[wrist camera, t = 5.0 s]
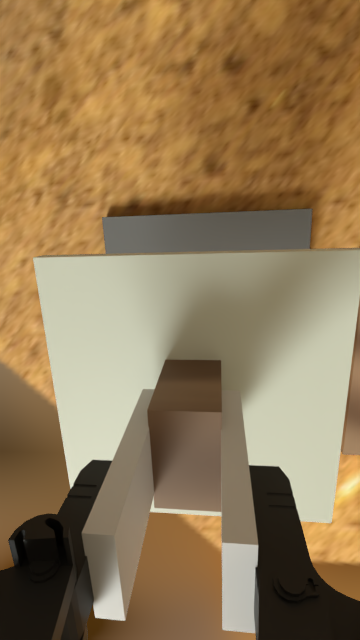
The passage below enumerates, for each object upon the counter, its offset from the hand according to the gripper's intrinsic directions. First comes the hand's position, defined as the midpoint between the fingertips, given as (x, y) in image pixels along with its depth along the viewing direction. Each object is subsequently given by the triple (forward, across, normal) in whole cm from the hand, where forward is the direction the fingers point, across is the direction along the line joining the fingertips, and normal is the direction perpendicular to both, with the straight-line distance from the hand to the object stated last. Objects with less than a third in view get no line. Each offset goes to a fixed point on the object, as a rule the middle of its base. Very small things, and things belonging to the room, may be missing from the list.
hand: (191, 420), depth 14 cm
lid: (+2, 0, 0) cm, 2 cm away
